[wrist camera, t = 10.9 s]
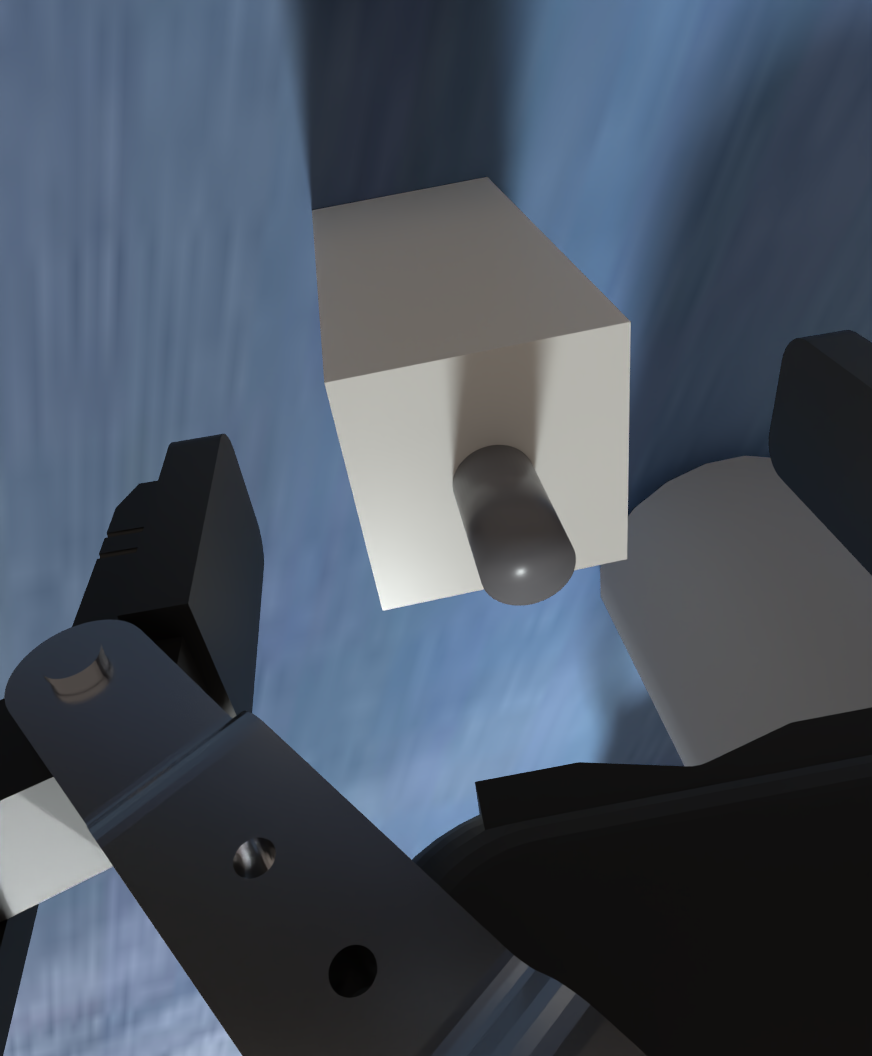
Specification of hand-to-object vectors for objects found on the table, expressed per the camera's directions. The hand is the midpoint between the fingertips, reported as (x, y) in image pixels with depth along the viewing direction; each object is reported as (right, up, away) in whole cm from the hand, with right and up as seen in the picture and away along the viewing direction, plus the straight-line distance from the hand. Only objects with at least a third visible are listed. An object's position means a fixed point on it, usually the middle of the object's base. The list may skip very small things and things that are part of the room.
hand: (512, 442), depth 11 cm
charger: (-2, +5, +7) cm, 9 cm away
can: (+7, -2, +14) cm, 16 cm away
